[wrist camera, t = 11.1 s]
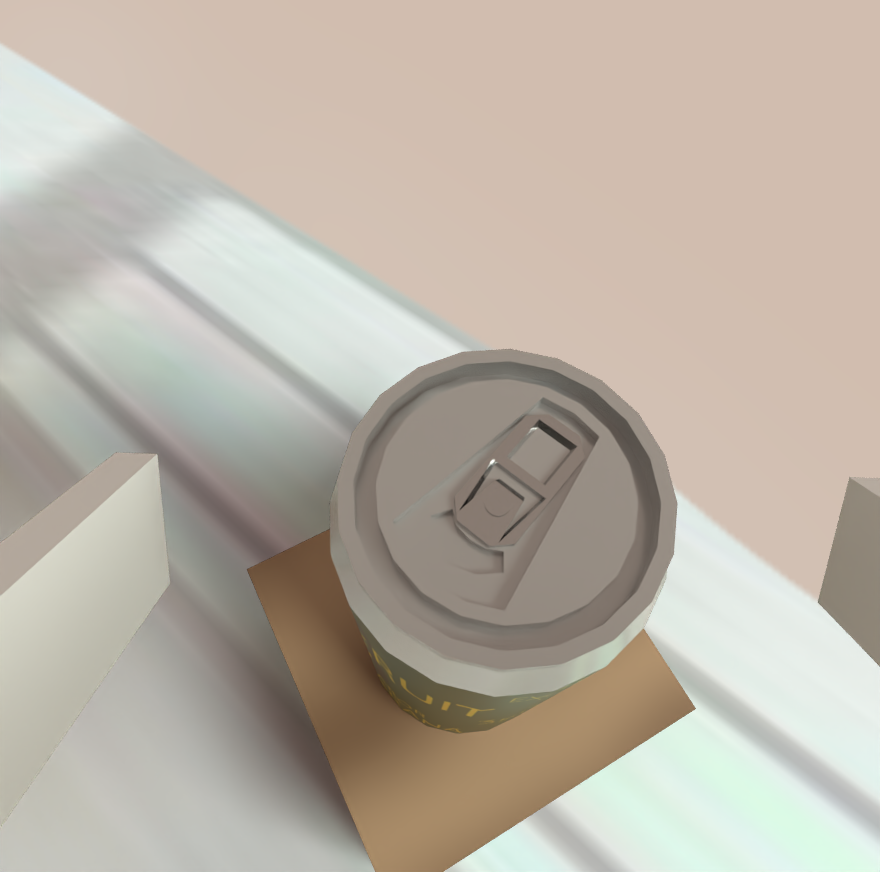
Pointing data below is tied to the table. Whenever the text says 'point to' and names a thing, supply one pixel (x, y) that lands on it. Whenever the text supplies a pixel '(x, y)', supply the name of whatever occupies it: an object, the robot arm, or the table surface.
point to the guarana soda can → (499, 534)
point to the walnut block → (437, 751)
